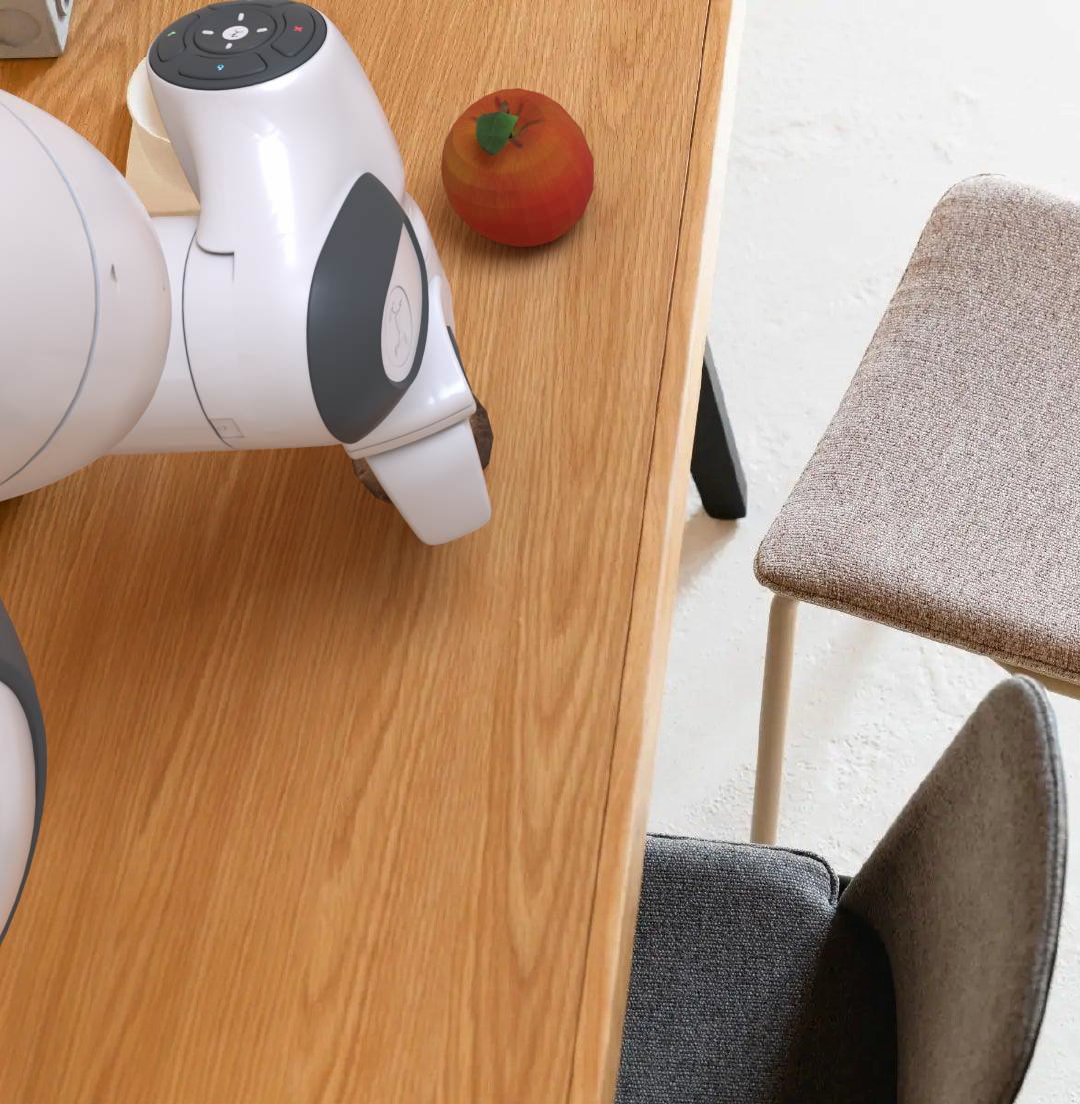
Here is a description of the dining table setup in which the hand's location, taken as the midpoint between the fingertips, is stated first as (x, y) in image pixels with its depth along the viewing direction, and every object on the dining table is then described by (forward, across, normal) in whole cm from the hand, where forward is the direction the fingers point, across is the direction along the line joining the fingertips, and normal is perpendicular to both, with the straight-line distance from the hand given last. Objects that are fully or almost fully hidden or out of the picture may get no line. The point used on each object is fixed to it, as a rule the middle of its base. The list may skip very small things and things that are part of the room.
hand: (426, 447), depth 84 cm
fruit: (+4, -17, +12) cm, 21 cm away
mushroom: (+2, 0, 0) cm, 2 cm away
